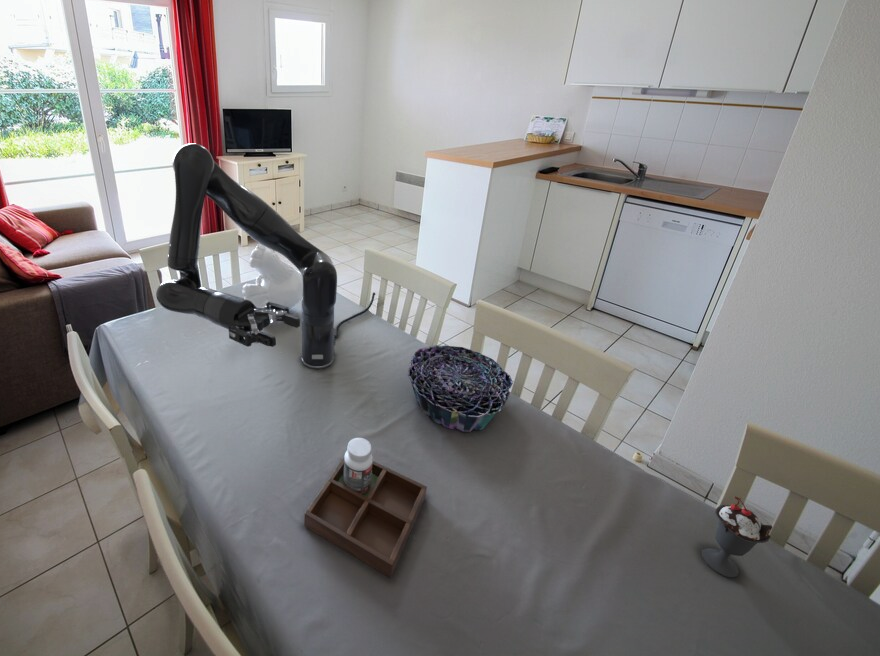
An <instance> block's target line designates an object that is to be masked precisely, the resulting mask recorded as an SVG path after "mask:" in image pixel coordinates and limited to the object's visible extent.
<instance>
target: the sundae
mask: <svg viewBox="0 0 880 656" xmlns="http://www.w3.org/2000/svg"><path fill="white" fill-rule="evenodd" d="M734 499H735V500H737V502H736V503H735V504H734V503H733V504H730V505H729V504H720V505H719V506H717V507H716V508H715V511H714V514H715V516H716V517H717V519H718V522H717V526H716V529H715V535H714V536H715V542H716V543H717V544H718V546H719V547H720V548H721V549H720V550H719V549H715V548H712V547H706V548H704V549H702V551H701V556H702V558H703V560H704V562H705V564H707V565H708V567H710V568H711V570H713V571H714V572H716V573H718V574H719V575H722V576H723V577H727V578H737V577H738V576H739V573H740V572H739V568H738V566H737V564H736V563H735V562H734V560H733V559H731V558H730V556H736V557H743V556H744V555H746V554H747V553H749V552H750V551H751V550H752V549H753V548H754V547H755V546H756V545H757V544H764V543H767V542H769V541H770V539H771V534H770V533H771V531H772V530H773V525H771V524H763V523H762V522H761V519H760V518H759V516H757V514H755V513H754V512H753V511H752V510H749V509H748V508H746V506H745V503H744V502H743V501H742V499H741V498H740V497H738V496H734ZM740 503H741V505H742V506H743V507H740V506H739V504H740Z"/></svg>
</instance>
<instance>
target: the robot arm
mask: <svg viewBox="0 0 880 656" xmlns="http://www.w3.org/2000/svg"><path fill="white" fill-rule="evenodd" d="M171 163H172V170H173V172H174V181H175V183H174V184H175V203H174V212H173V218H172V223H171V228H170V234H169V242H168V251H167V266H168V267H169V269H171V270H173V271H177V272H178V273H179V278H176V279H169V280H165V281H163V282H161V283H160V284H159V286H157V289H156V294H155V296H156V300H157V302H158V304H159V305H160V306H161V307H162V308H163V309H165V310H167V311H170V312H174V313H179V314H185V315H193V316H197V317H199V318H201V319H204V320H206V321H209V322H211V323H212V324H214V325H216V326H219V327H221V328H223V329H226V330H227V331H228V339H230V340H232V341H234V342H236V343H239V344H240V345H243V346H245V347H248V348H249V347H251V346H252V344H261V345H264V346H267V347H271V348H274V347H275V346H276V345H277V338H276V336H274V335H272V334H269V333H267V332H264V331H263V330H264V328H267V327H269V326H276V325H277V324H284V325H286V326H290V327H293V328H295V329H298V328H299V327H301V362H302V364H303V365H305V366H306V367H307V368H310V369H314V370H321V369H325V368H328V367H330V366H331V365H332V364H333V362H334V356H335V345H336V339H338V337H339V330H340V327H341V326H342V325H343V324H345V323H346V322H348V321H351V320H353V319H354V318H355V319H356V317H359V316H361V315H363V314H365V313H366V312H367V311H368V310H370V308H371V307H372V304H373V303H374V300H375V295H376V292H373V293H372V295H371V299H370V302H369V304H368V306H367V307H366V308H365V309H363V310H362V311H360V312H358V313H357V312H356V314H353V315H351V316H349V317H347V318H345V319H343V320H341V321H340V322H339V323H338V324H337V325H336V328H335V306H336V302H337V291H338V272H337V269H336V266H335V264H334V263H333V261H332V259H331V257H330V256H329V255H328V254H327V253H325V252H324V251H322V250H321V249H320V248H318V247H317V246H315V245H314V244H313V243H311V242H309V241H308V240H307V239H305V238H304V237H303V236H302V235H301V234H300V233H299V232H297V231H296V229H295V228H294V227H293V226H292V225H291V223H289V222H288V221H287V220H286V219H285V218H284V217H283V216H282V215H280V213H279V212H278V211H276V209H274V208H273V207H272V206H271V205H270V204H268V203H267V202H266V201H265V200H264V199H262V198H261V197H260V196H258V195H257V194H255V193H254V192H253V191H251V190H250V189H248V188H246V186H245V187H244V185H242V184H240V183H238V182H237V181H236V180H235V179H233V178H232V177H231V176H230V175H229V174H227V172H226V171H224V170H223V168H222V167H221V166H219V164H218V163H217V162H216V161H215V160H214V157H213V156H212V154H211V152H210V151H209V150H208V149H207V148H206V147H205V146H204V145H201V144H198V143H187V144H184V145H182V146H180V147H179V148H178V149H177V150H176V151H175V152H174V155H173V156H172V162H171ZM206 197H208V198H209V199H211V200H212V202H213V203H215V204H216V205H217V206H218V207H219V208H220V209H221V211H223V213H224V214H225V215H226V216H227V217H228V218H229V219H230V220H231V221H232V222H233V223H234V224H235V225H236V226H238V228H239V229H241V230H242V231H243V232H244V233H245V234H246V235H248V236H249V237H250V238H251V239H252V240H254V241H255V242H256V243H258V244H260V245H263V246H264V247H265V248H269V249H272V250H274V252H275V253H278V254H280V255H282V256H283V257H285V258H286V259H287V260H288V261H289V262H290V263H291V264H292V265H294V268H295V269H296V270H297V271H298V272H300V275H301V276H302V278H303V297H302V299H301V319H300V318H299V317H298V316H295V315H292V314H290V309H289V307H286V306H283V305H279V304H276V303H272V302H267V303H266V307H264V308H257V307H256V306H255V305H254V304H253V303H252V302H251V301H249V300H246V299H244V297H240V296H237V295H234V294H231V293H228V292H223V291H219V290H215V289H212V288H210V287H204V286H203V287H202V283H201V277H200V268H199V256H200V248H201V247H200V245H201V238H202V237H201V235H202V223H203V221H202V220H203V211H204V204H205V199H206ZM281 310H283V311H281ZM268 314H270V315H272V320H269V315H268ZM277 317H278V318H277ZM300 325H301V326H300Z"/></svg>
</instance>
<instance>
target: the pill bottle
mask: <svg viewBox="0 0 880 656" xmlns="http://www.w3.org/2000/svg"><path fill="white" fill-rule="evenodd" d="M344 456H345V457H343V458H344V476H343V483H344V485H345V486H347V487H348V488H350V489H352V490H354V491H356V492H358V493H360V494H364V493H366V492H367V491H368V490H369V488H370V486H371V479H372V466H373V461H374V457H373V454H372V445H371V442H370V441H368V439H365V438H363V437H354V438H352V439H350V440H349V442H348V443H347V450H346V451H345V453H344Z"/></svg>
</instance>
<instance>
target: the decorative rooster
mask: <svg viewBox="0 0 880 656" xmlns="http://www.w3.org/2000/svg"><path fill="white" fill-rule="evenodd" d="M249 266H250V267H251V268H252V269H255V270H256V272H257V273H258V274H259V275H258V276H256V279H255V284H254V283H245V284H244V285H243V286H242V288H241V289H242V290H241V294H242V296H243V299H246V300H249V301H251V302H252V303H253V304H254V305H255V306H256V307H257V308H264V307H266V303H267V302H272V303H276V304H279V305H283V306H286V307H289V310H290V309H292V308H294V307H296V305H297V304H299V303H300V302H301V301H302V299H303V278H302V274H301V273H299V271H298V269H297V268H296V267H293V266H292V265H291V264H289V263H287V262H285V261H283V260H282V259H281V258H280V256H279V255H278V254H277V252H276V251H274V250H272V249H269V248H267V247H265V246H263V245H261V244H260V243H258V244H257V245H256V246H255V249H253V250H252V251H251V253H250V259H249ZM281 311H283V310H281ZM268 315H269V320H270V321H271V320H272V315H270V314H268Z"/></svg>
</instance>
